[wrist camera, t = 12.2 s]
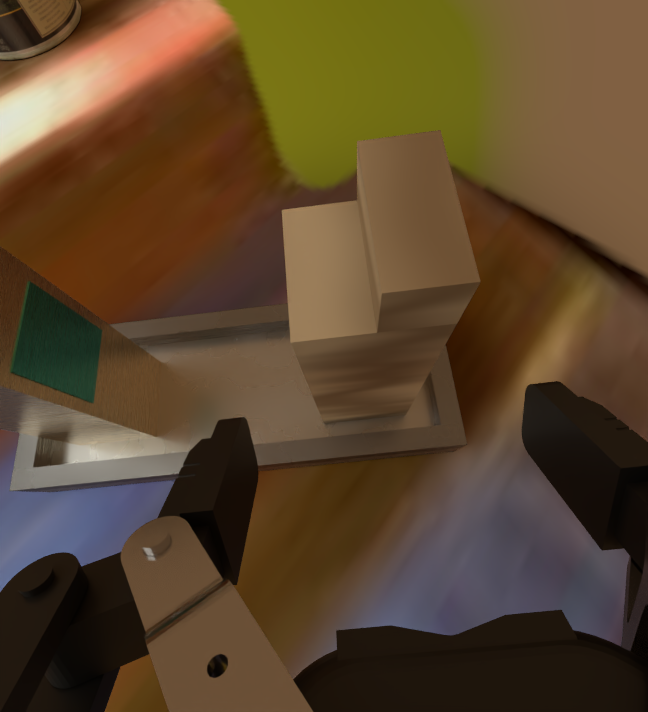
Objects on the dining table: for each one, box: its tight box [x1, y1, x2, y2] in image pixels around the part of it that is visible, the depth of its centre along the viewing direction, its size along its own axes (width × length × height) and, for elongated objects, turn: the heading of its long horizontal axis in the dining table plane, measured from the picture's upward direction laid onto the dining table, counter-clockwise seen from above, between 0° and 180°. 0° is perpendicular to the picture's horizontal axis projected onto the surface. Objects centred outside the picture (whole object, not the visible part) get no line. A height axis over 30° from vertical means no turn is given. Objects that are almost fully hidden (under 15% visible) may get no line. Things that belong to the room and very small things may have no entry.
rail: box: [0, 246, 467, 492], centre depth 16 cm, size 22×8×14 cm, turn 95°
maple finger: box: [282, 130, 480, 424], centre depth 15 cm, size 4×4×13 cm
